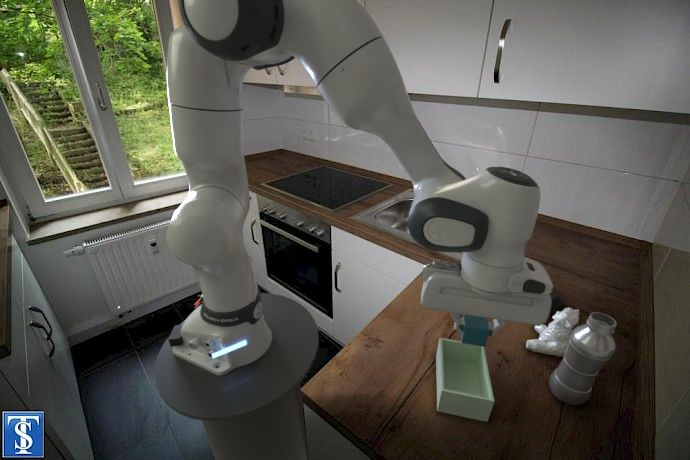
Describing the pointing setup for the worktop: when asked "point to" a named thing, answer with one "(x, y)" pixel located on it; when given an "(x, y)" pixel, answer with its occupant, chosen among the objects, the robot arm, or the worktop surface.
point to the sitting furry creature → (555, 333)
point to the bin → (463, 380)
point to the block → (474, 330)
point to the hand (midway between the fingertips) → (473, 330)
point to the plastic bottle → (584, 359)
